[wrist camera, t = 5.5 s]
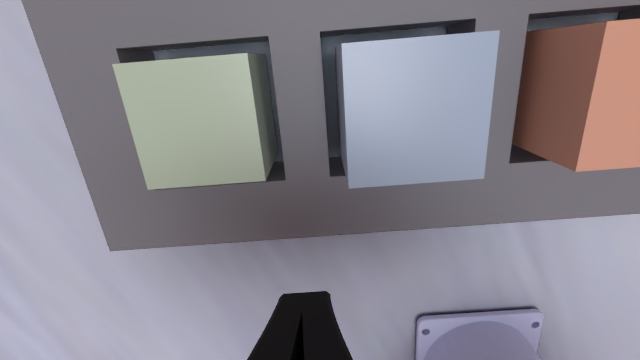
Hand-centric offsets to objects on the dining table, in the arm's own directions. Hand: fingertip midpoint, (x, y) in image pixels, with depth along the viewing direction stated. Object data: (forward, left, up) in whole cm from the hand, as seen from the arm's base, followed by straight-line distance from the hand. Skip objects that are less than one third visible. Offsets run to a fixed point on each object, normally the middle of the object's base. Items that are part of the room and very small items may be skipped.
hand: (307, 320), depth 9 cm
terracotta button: (+5, -12, -8) cm, 15 cm away
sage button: (+5, +4, -9) cm, 11 cm away
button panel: (+5, -4, -9) cm, 11 cm away
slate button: (+5, -4, -8) cm, 10 cm away
